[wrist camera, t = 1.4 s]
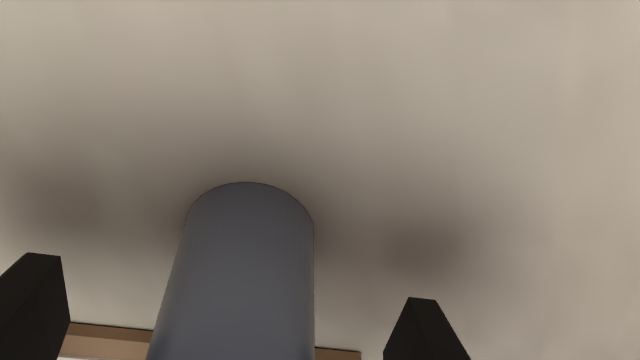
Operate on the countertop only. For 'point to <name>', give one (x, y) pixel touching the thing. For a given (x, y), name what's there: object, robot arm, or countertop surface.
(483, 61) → the countertop surface
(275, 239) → the bottle
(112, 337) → the picture frame
